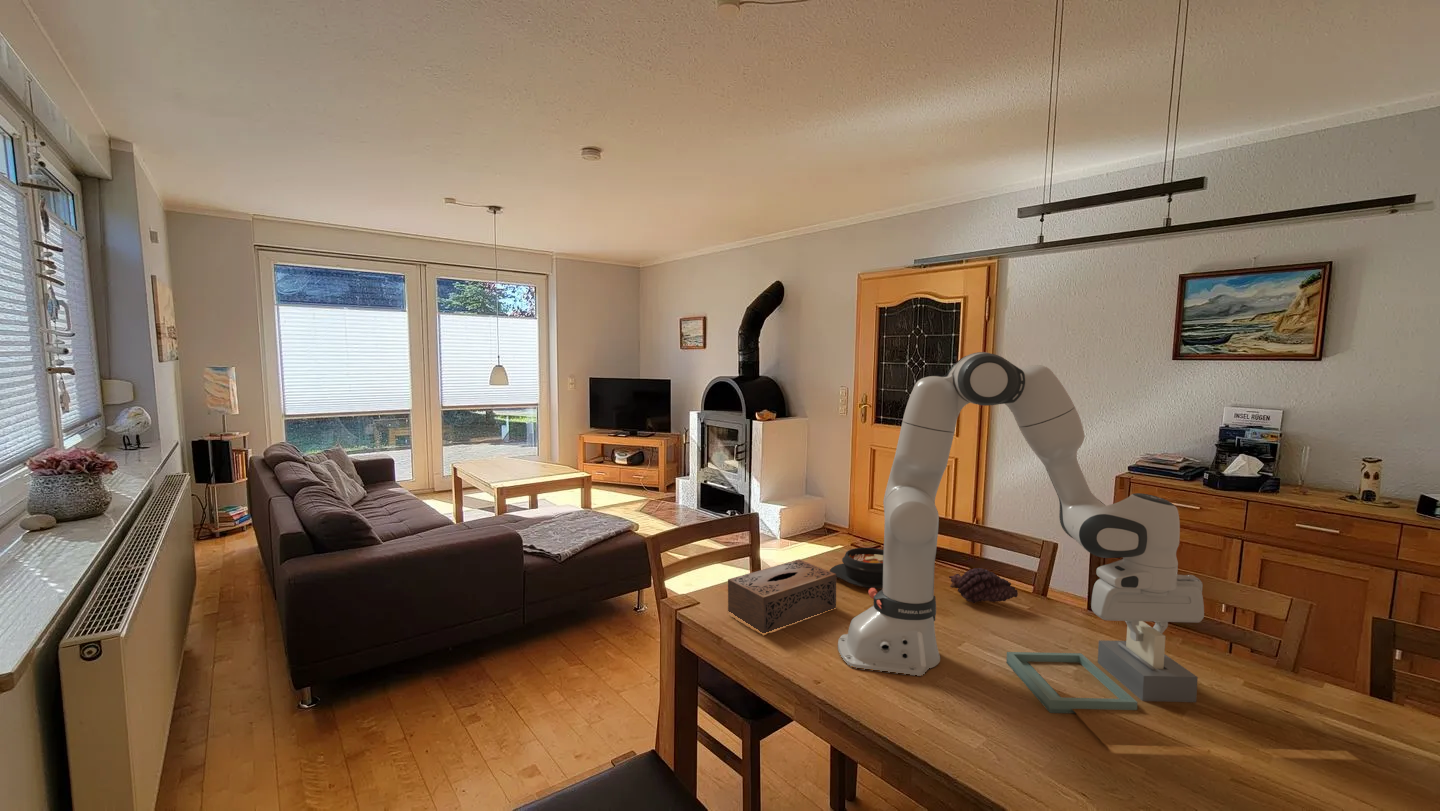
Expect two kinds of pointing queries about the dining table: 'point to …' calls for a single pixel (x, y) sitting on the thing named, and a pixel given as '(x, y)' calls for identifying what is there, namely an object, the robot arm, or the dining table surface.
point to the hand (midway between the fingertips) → (1145, 640)
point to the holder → (1147, 674)
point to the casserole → (862, 567)
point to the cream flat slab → (1148, 645)
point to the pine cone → (982, 586)
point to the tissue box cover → (781, 594)
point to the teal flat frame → (1051, 696)
